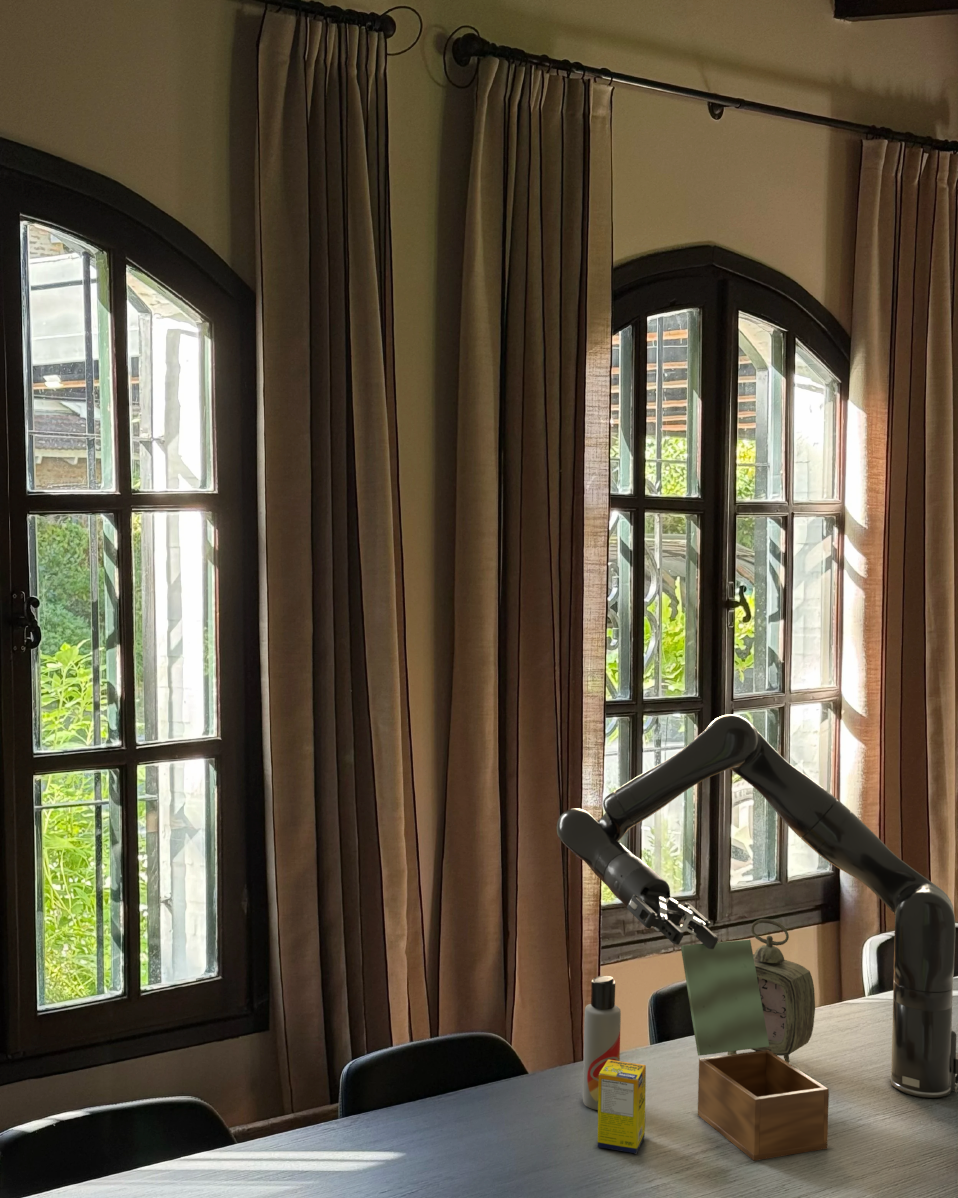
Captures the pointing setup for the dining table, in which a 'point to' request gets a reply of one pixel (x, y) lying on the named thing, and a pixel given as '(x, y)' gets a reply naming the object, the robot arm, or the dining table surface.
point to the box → (763, 1104)
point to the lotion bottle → (599, 1036)
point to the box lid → (724, 997)
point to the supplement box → (621, 1106)
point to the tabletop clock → (783, 997)
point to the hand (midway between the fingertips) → (697, 942)
